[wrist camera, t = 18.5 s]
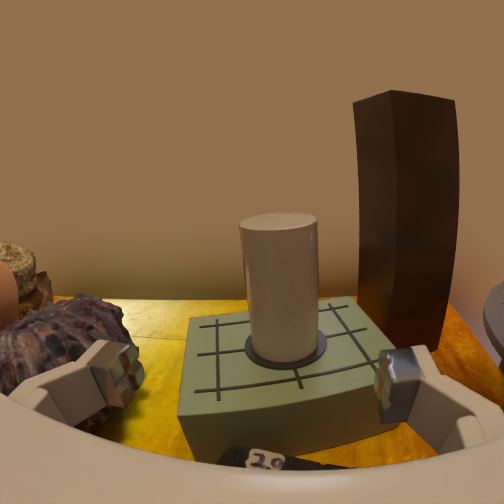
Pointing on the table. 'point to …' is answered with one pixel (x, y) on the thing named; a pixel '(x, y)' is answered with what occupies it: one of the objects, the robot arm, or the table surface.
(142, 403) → the table surface
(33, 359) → the seashell
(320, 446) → the game board
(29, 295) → the stone
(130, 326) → the table surface
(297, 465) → the rock
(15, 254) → the coral
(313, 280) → the beige tapered cylinder
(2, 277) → the egg
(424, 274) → the pedestal
